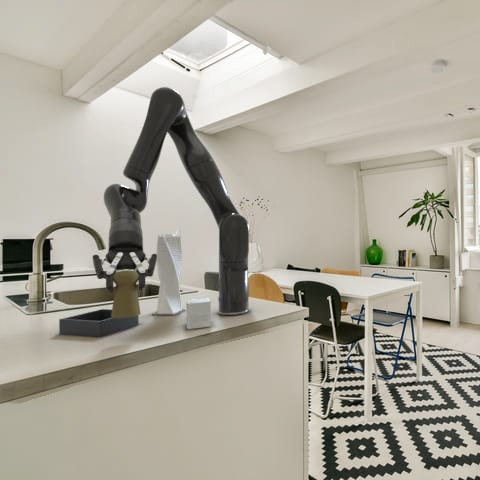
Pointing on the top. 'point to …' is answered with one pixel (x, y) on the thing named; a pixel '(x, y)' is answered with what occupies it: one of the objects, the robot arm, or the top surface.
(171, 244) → the skyscraper
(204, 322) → the product box
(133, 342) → the top surface
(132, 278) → the cork
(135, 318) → the basket
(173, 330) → the top surface
